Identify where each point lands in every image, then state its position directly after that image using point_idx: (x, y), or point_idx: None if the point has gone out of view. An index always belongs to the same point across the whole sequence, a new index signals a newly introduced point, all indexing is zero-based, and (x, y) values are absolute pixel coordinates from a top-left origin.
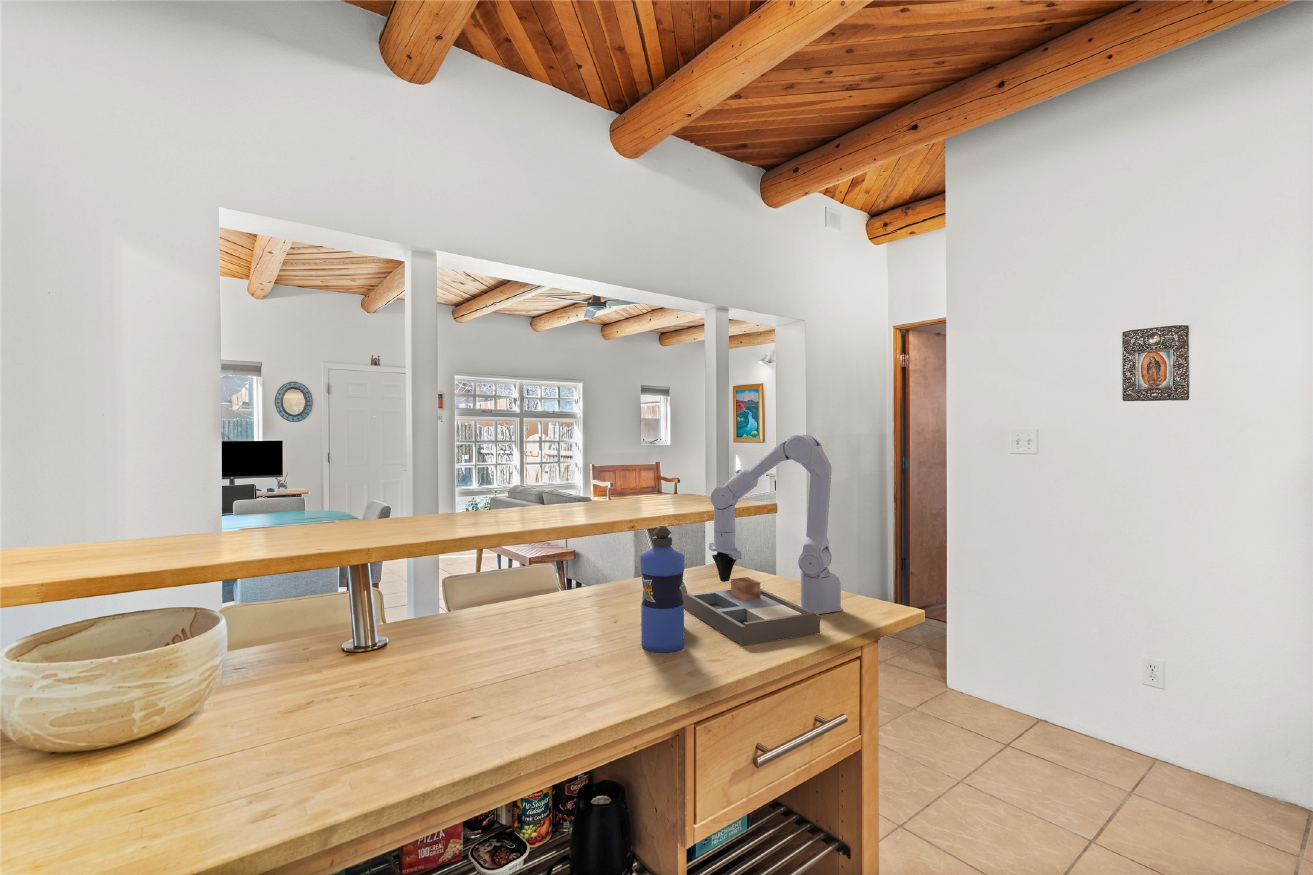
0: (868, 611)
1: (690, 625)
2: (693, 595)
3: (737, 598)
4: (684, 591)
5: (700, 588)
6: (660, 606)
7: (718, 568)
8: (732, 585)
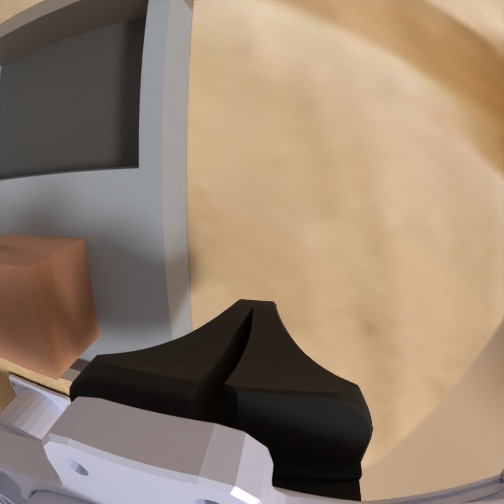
0: None
1: (19, 4)
2: (146, 23)
3: (29, 229)
4: None
5: (471, 253)
6: None
7: (263, 337)
8: (37, 253)
